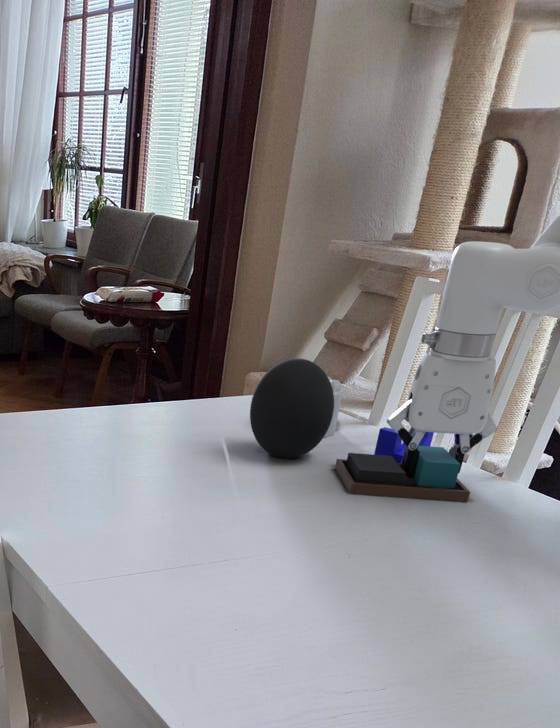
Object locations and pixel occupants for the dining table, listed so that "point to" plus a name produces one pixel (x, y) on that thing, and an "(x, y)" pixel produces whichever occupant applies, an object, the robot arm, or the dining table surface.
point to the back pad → (375, 469)
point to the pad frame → (401, 488)
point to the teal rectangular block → (436, 468)
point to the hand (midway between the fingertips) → (428, 475)
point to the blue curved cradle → (396, 443)
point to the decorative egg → (292, 408)
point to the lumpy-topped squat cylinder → (335, 405)
